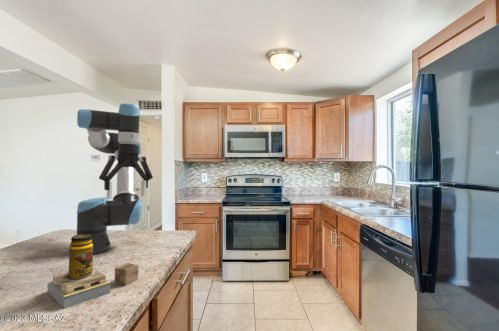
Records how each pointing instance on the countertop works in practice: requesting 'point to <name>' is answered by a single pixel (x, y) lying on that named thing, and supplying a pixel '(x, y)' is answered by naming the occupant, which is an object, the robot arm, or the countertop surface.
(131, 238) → the countertop surface
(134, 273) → the brown cube
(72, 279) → the condiment
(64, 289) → the pallet
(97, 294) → the dock
